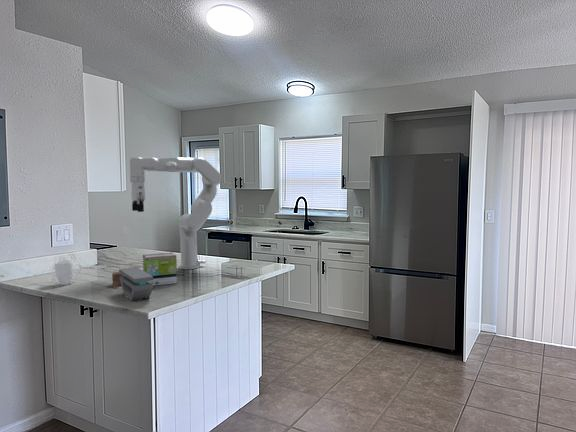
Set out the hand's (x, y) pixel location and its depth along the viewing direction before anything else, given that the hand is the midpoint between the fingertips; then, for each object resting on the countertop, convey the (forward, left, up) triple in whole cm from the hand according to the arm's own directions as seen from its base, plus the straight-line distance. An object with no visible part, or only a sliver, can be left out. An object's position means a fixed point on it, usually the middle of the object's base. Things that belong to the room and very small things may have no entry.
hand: (137, 211), depth 243 cm
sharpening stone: (+2, +49, -35) cm, 61 cm away
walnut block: (+11, +23, -35) cm, 43 cm away
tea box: (-9, +27, -35) cm, 46 cm away
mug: (+35, +11, -35) cm, 51 cm away
